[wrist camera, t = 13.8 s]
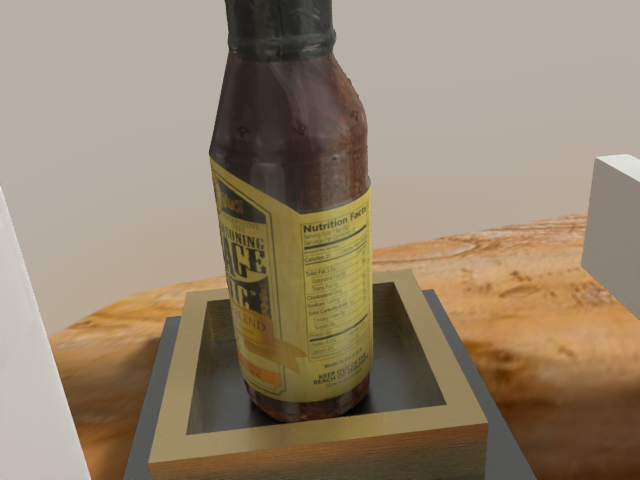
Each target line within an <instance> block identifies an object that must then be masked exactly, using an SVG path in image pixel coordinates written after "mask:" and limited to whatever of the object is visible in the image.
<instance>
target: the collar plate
mask: <svg viewBox="0 0 640 480" xmlns="http://www.w3.org/2000/svg"><path fill="white" fill-rule="evenodd" d="M372 298H373V362H372V366H371V373H370V383H369V388H368V391H367V394H366V396H365V397H364V398H363V400H362V401H360V402H359V403H358V404H357V405H355V408H353V409H350V410H348V411H347V412H345V413H344V414H343V415H340V416H337V417H335V418H330V419H322V420H313V421H305V422H290V423H286V422H282V421H278V420H275V419H274V418H272V417H270V416H269V415H268V414H267V413H266V412H265V411H263V410H261V409H260V408H259V407H258V406H257V405H256V404H255V403H254V402H253V400H252V399H251V398H250V396H249V394H248V393H247V390H246V385H245V383H244V378H243V375H242V372H241V370H240V365H239V357H238V351H237V344H236V338H235V331H234V324H233V318H232V310H231V303H230V297H229V290H228V288H224V289H215V290H205V291H196V292H187V294H186V298H185V303H184V307H183V312H182V316H176V317H166V321H165V324H164V328H163V332H162V336H161V339H160V343H159V347H158V350H157V354H156V358H155V361H154V365H153V369H152V373H151V376H150V380H149V384H148V387H147V391H146V395H145V399H144V402H143V406H142V410H141V413H140V417H139V421H138V424H137V428H136V432H135V436H134V439H133V443H132V447H131V450H130V454H129V458H128V462H127V465H126V469H125V473H124V476H123V480H537V478H536V477H535V475H534V473H533V471H532V469H531V467H530V466H529V464H528V462H527V460H526V458H525V456H524V455H523V453H522V451H521V449H520V447H519V445H518V444H517V442H516V440H515V438H514V436H513V434H512V433H511V431H510V429H509V427H508V425H507V423H506V422H505V420H504V418H503V416H502V414H501V413H500V411H499V409H498V407H497V405H496V403H495V402H494V400H493V398H492V396H491V394H490V392H489V391H488V389H487V387H486V385H485V383H484V381H483V380H482V378H481V376H480V374H479V372H478V370H477V369H476V367H475V365H474V363H473V361H472V359H471V358H470V356H469V354H468V352H467V350H466V348H465V347H464V345H463V343H462V341H461V339H460V338H459V336H458V334H457V332H456V330H455V328H454V327H453V325H452V323H451V321H450V319H449V317H448V316H447V314H446V312H445V310H444V308H443V306H442V305H441V303H440V301H439V299H438V297H437V295H436V294H435V292H434V290H433V289H431V290H421V289H420V287H419V285H418V283H417V281H416V279H415V277H414V275H413V273H412V271H411V269H408V270H398V271H389V272H379V273H372Z"/></svg>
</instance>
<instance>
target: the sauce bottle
mask: <svg viewBox="0 0 640 480" xmlns="http://www.w3.org/2000/svg"><path fill="white" fill-rule="evenodd" d="M225 3H226V13H227V21H228V31H229V34H228V46H229V53H228V59H227V64H226V69H225V74H224V79H223V84H222V89H221V95H220V100H219V105H218V110H217V115H216V121H215V126H214V131H213V136H212V141H211V145H210V149H209V156H210V163H211V170H212V179H213V185H214V192H215V199H216V205H217V212H218V219H219V228H220V236H221V244H222V248H223V257H224V261H225V271H226V277H227V284H228V290H229V297H230V303H231V310H232V318H233V324H234V331H235V338H236V344H237V351H238V357H239V365H240V370H241V372H242V375H243V378H244V383H245V385H246V390H247V393H248V394H249V396H250V398H251V399H252V400H253V402H254V403H255V404H256V405H257V406H258V407H259V408H260V409H261V410H263V411H265V412H266V413H267V414H268V415H269V416H270V417H272V418H274V419H275V420H278V421H282V422H286V423H290V422H305V421H313V420H322V419H330V418H335V417H337V416H340V415H343V414H344V413H345V412H347V411H348V410H350V409H353V408H355V405H357V404H358V403H359V402H360V401H362V400H363V398H364V397H365V396H366V394H367V391H368V388H369V383H370V373H371V366H372V362H373V298H372V233H371V232H372V229H371V181H370V178H369V176H368V160H367V159H368V156H367V121H366V114H365V110H364V108H363V105H362V103H361V101H360V99H359V95H358V94H357V93H356V91H355V89H354V87H353V86H352V84H351V81H350V79H349V78H347V76H346V74H345V73H344V72H343V70H342V68H341V67H340V65H339V64H338V62H337V60H336V59H335V57H334V55H333V52H332V50H333V46H334V44H335V42H336V32H335V30H334V29H333V25H332V0H225Z"/></svg>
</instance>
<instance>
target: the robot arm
mask: <svg viewBox="0 0 640 480" xmlns="http://www.w3.org/2000/svg"><path fill="white" fill-rule="evenodd" d="M581 266H582V267H583V268H584V269H585V270H586V271H587V272H588V273H589V274H590V275H591V276H592V277H594V278H595V279H596V280H597V281H598V282H599V283H600V284H601V285H602V286H603V287H604V288H605V289H607V290H608V291H609V292H610V293H611V294H612V295H613V296H614V297H615V298H616V299H617V300H618V301H619V302H621V303H622V304H623V305H624V306H625V307H626V308H627V309H628V310H629V311H630V312H631V313H632V314H634V315H635V316H636V317H637V318H638V319H639V320H640V160H639V159H637V158H635V157H633V156H631V155H629V154H625V155H613V156H603V157H595V163H594V171H593V178H592V186H591V193H590V201H589V208H588V216H587V223H586V231H585V239H584V246H583V254H582V261H581ZM34 321H35V320H34V316H33V313H32V310H31V307H30V304H29V300H28V297H27V294H26V291H25V288H24V284H23V281H22V278H21V275H20V272H19V268H18V265H17V262H16V259H15V256H14V252H13V249H12V246H11V243H10V240H9V236H8V233H7V230H6V227H5V224H4V220H3V217H2V214H1V211H0V373H1V371H2V370H3V368H4V367H5V365H6V364H7V362H8V361H9V359H10V357H11V356H12V354H13V353H14V351H15V350H16V348H17V347H18V345H19V344H20V342H21V341H22V339H23V338H24V336H25V335H26V333H27V332H28V330H29V329H30V327H31V326H32V324H33V323H34Z"/></svg>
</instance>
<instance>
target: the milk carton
mask: <svg viewBox="0 0 640 480" xmlns="http://www.w3.org/2000/svg"><path fill="white" fill-rule="evenodd" d="M0 211H1V214H2V217H3V220H4V224H5V227H6V230H7V233H8V236H9V240H10V243H11V246H12V249H13V252H14V256H15V259H16V262H17V265H18V268H19V272H20V275H21V278H22V281H23V284H24V288H25V291H26V294H27V297H28V300H29V304H30V307H31V310H32V313H33V316H34V320H35V321H34V323H33V324H32V326H31V327H30V329H29V330H28V332H27V333H26V335H25V336H24V338H23V339H22V341H21V342H20V344H19V345H18V347H17V348H16V350H15V351H14V353H13V354H12V356H11V357H10V359H9V361H8V362H7V364H6V365H5V367H4V368H3V370H2V371H1V373H0V480H91V477H90V474H89V470H88V467H87V464H86V461H85V457H84V454H83V451H82V448H81V444H80V441H79V438H78V435H77V431H76V428H75V425H74V422H73V418H72V415H71V412H70V409H69V406H68V402H67V399H66V396H65V393H64V389H63V386H62V383H61V380H60V376H59V373H58V370H57V367H56V363H55V360H54V357H53V354H52V350H51V347H50V344H49V341H48V337H47V334H46V331H45V328H44V324H43V321H42V318H41V315H40V311H39V308H38V305H37V302H36V299H35V295H34V292H33V289H32V286H31V282H30V279H29V276H28V273H27V269H26V266H25V263H24V260H23V256H22V253H21V250H20V247H19V243H18V240H17V237H16V234H15V230H14V227H13V224H12V221H11V218H10V214H9V211H8V208H7V204H6V201H5V198H4V195H3V191H2V188H1V185H0Z"/></svg>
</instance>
